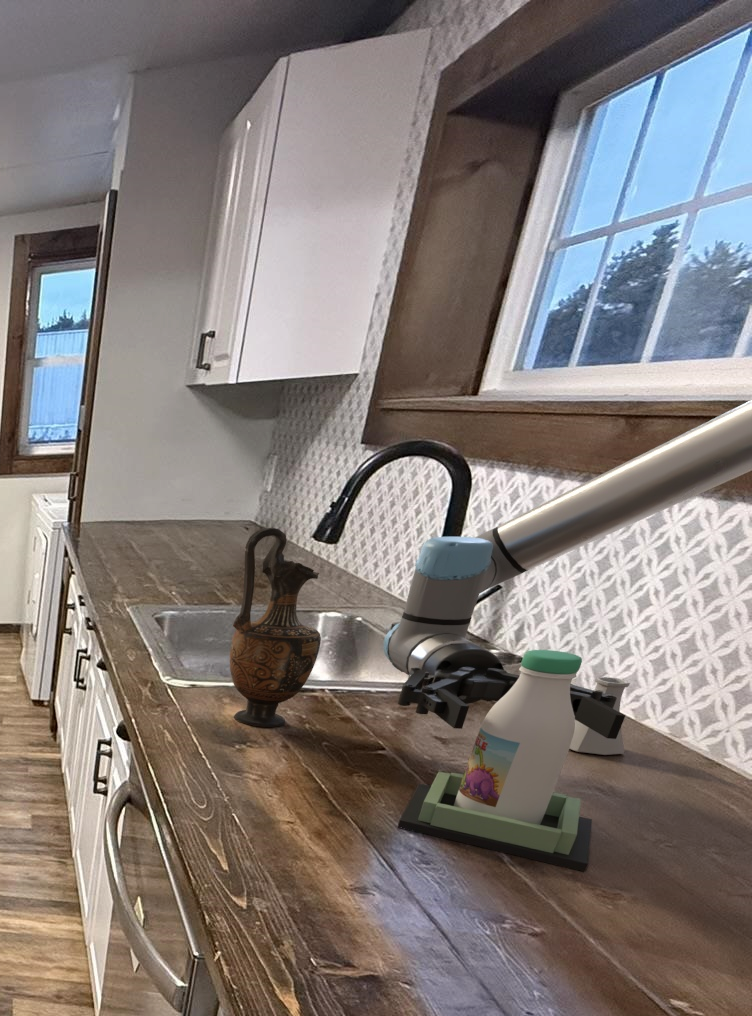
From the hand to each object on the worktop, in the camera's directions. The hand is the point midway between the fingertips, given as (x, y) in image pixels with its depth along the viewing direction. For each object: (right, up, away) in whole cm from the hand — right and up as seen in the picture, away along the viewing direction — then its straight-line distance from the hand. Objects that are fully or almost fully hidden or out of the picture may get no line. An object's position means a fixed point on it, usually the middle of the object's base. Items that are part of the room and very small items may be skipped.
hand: (537, 722), depth 91 cm
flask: (+33, -2, +27) cm, 43 cm away
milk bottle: (+1, -11, +6) cm, 13 cm away
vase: (-4, +3, +42) cm, 42 cm away
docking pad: (+1, -12, +6) cm, 14 cm away
